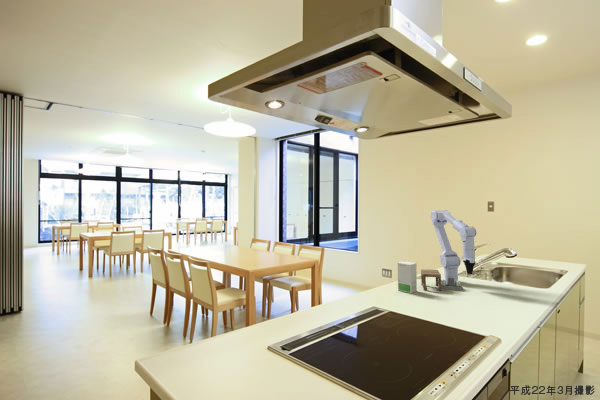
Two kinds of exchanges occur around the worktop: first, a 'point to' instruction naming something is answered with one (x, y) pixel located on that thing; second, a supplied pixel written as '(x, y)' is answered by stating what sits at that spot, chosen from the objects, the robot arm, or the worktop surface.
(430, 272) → the walnut shelf
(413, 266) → the skincare box
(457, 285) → the grey plastic caddy
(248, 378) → the worktop surface
